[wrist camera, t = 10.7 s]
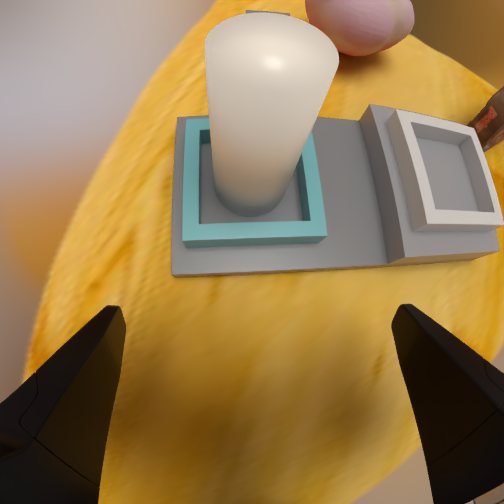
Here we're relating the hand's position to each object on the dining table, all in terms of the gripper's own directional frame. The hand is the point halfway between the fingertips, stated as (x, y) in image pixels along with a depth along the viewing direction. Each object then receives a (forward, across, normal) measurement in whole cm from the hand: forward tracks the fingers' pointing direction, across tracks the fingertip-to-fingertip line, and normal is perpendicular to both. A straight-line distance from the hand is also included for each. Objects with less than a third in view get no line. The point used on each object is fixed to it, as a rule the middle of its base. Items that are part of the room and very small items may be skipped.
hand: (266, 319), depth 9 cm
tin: (+18, -25, -6) cm, 31 cm away
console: (+11, -6, 0) cm, 12 cm away
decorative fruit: (+22, -8, -10) cm, 25 cm away
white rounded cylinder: (+10, 0, -1) cm, 10 cm away
